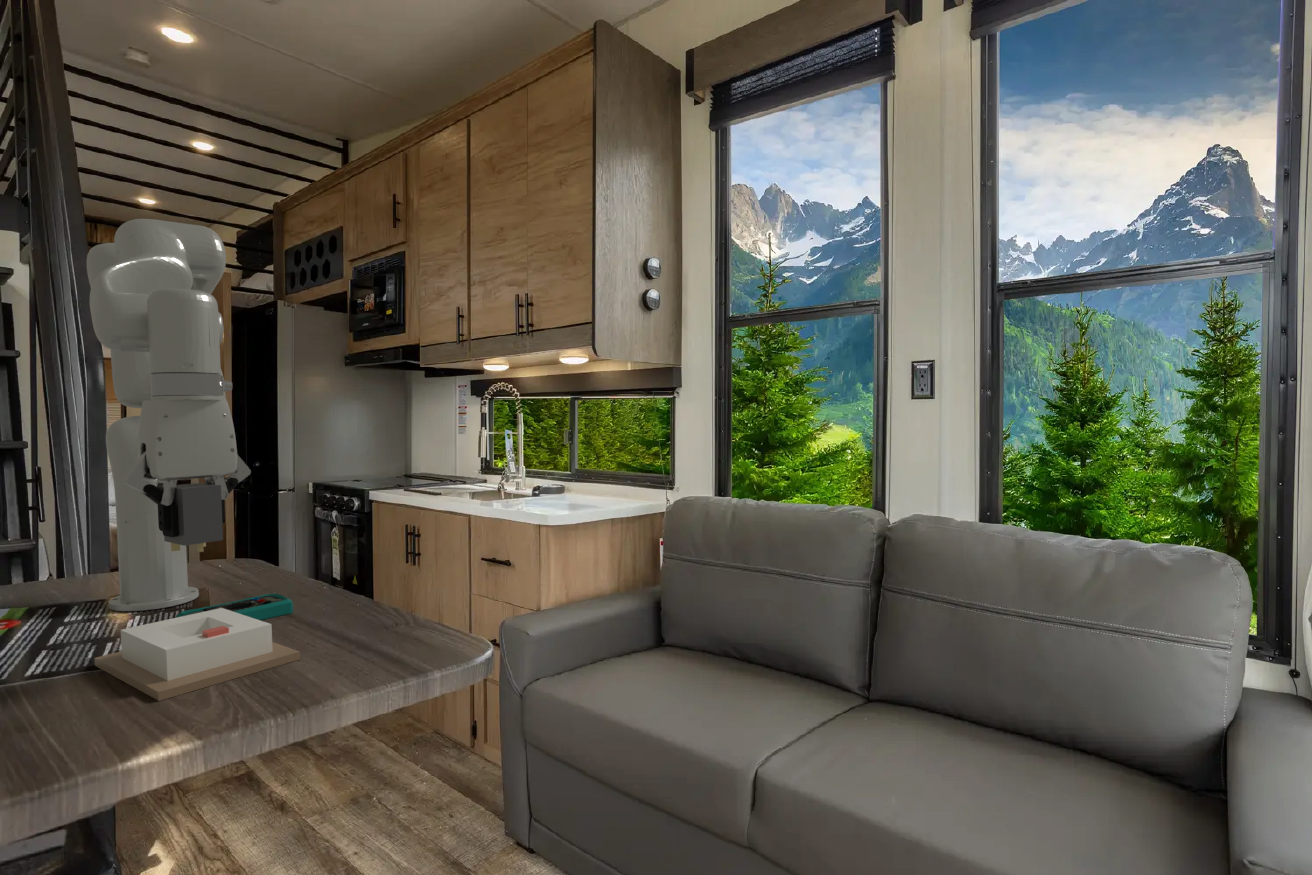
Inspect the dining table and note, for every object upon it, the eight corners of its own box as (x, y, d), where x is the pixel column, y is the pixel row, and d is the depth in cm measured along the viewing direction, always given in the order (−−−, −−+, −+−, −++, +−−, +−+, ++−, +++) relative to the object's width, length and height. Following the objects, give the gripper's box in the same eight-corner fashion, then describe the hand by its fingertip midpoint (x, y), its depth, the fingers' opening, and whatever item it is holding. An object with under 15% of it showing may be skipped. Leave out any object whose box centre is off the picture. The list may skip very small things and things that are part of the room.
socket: (94, 665, 93) (92, 625, 92) (228, 632, 106) (226, 597, 105) (158, 700, 81) (156, 654, 81) (300, 659, 94) (298, 619, 94)
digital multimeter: (297, 614, 116) (297, 596, 116) (194, 639, 104) (193, 618, 104) (275, 608, 121) (275, 590, 120) (174, 630, 109) (173, 611, 109)
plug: (164, 550, 93) (161, 486, 92) (202, 544, 96) (199, 483, 96) (185, 555, 89) (182, 488, 89) (223, 549, 93) (220, 485, 92)
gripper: (242, 390, 101) (247, 521, 102) (95, 389, 87) (102, 540, 88) (269, 389, 96) (275, 526, 97) (119, 387, 83) (126, 546, 83)
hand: (193, 531), depth 92 cm, fingers closed on plug, 4 cm apart
